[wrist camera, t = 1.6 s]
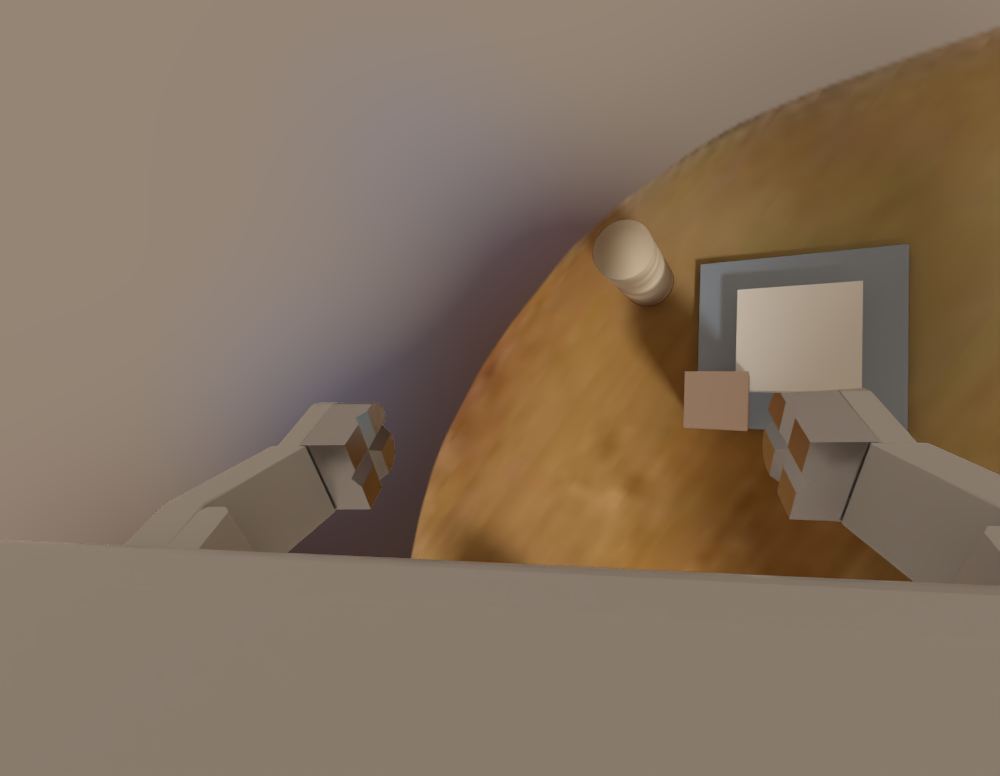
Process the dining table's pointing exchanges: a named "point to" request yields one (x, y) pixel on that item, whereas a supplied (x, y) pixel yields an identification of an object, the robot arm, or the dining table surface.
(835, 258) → the build base
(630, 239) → the birch column
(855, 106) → the dining table surface
